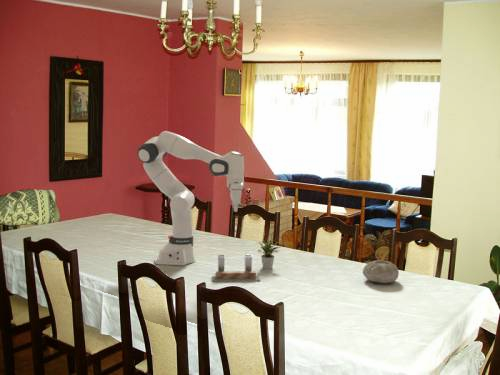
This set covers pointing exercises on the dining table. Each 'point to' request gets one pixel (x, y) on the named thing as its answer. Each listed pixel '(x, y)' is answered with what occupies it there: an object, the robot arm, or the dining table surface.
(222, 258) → the standard left
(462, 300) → the dining table surface
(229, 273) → the rail
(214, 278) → the pad
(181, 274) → the dining table surface
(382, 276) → the grey flattened round lump
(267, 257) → the house plant
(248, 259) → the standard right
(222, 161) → the robot arm
